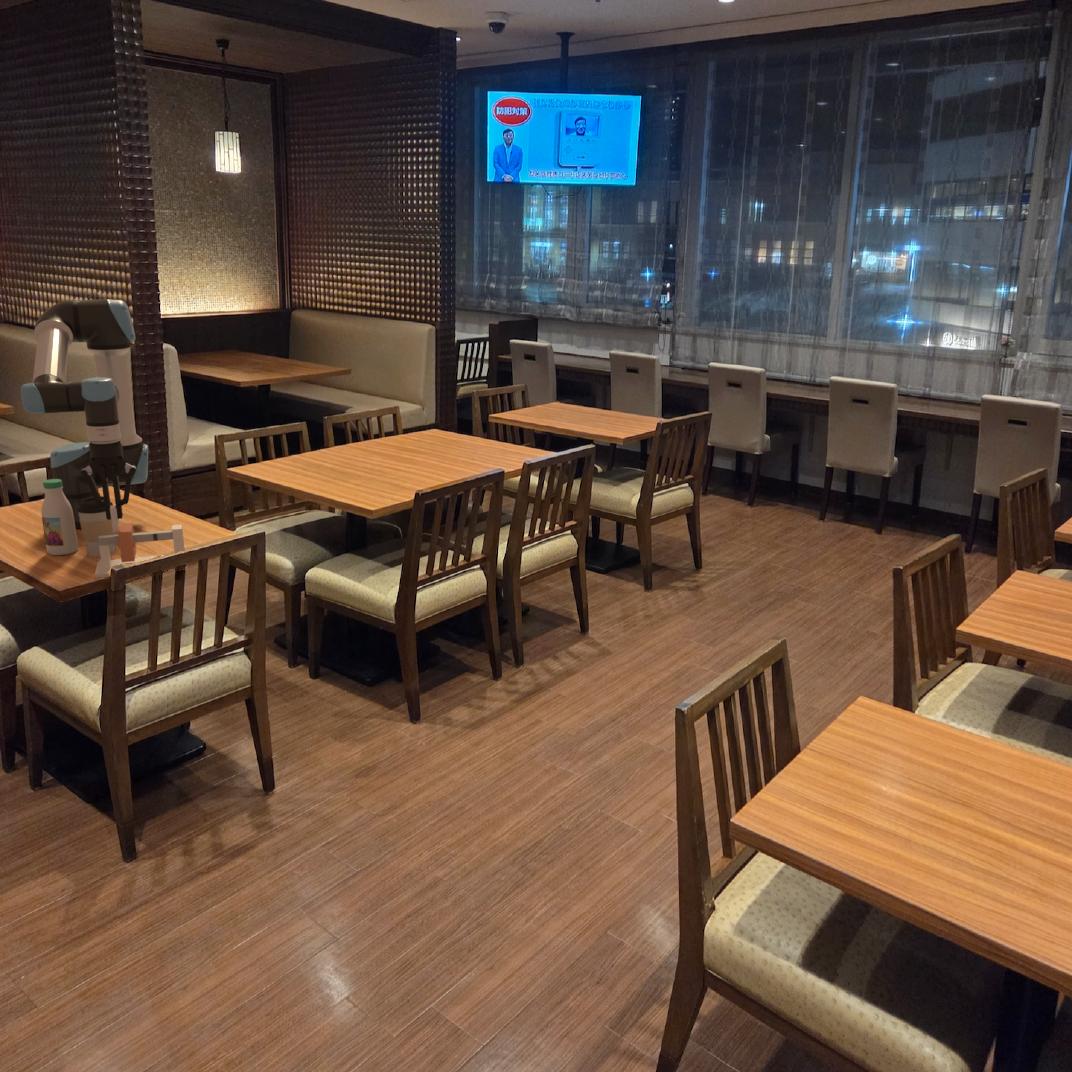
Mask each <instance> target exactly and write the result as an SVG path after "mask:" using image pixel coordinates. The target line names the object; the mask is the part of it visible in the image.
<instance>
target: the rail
mask: <svg viewBox="0 0 1072 1072" xmlns="http://www.w3.org/2000/svg"><path fill="white" fill-rule="evenodd" d="M132 539H133V543H135V544H136V543H144V542H145V543H146V542H147V543H149V542H159V541H160V542H161V541H170V540H173V551H174V554H175V553H177V552H179V551H184V550H185V549H186V548H185V541H184V531H183V524H181V523H179V524H172V526H171V529H169V530H168V529H167V530H165V529H164V530H155V531H154V530H153V531H142V532H134V533H133V535H132ZM98 540H99V549H100V556H101V557H100V560H98V561H97V564H96V568H95V572H94V578H95V577H99V578H107V577H109V574H110V571H111V566H114V565H120V564H132V563H137V562H140V561H144V560H149V559H152V558H154V557H162V556H164V555H165V554H163V555H150V556H138V557H135V561H131V562H122V560H121V558H117V559H111V558H112V557H111V555H110V549H109V545H114V544H115V545H120V544H119V536H118V533H117V534H115V535H105V536H99V538H98ZM185 551H186V550H185ZM187 569H188V565H187V566H186V567H185V569H184V570H187ZM172 571H176V570H175V569H170V570H168V571H167V572H172Z"/></svg>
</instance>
